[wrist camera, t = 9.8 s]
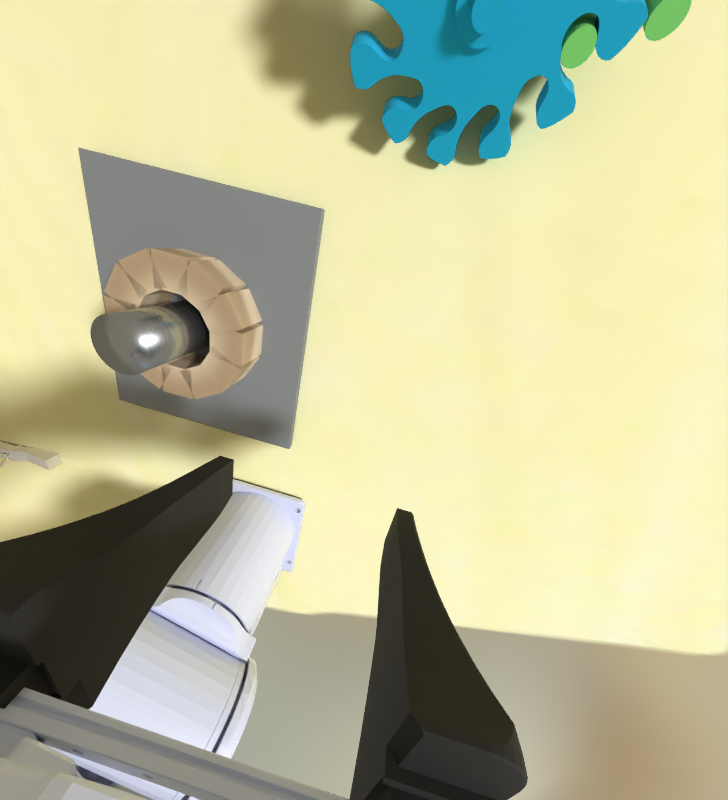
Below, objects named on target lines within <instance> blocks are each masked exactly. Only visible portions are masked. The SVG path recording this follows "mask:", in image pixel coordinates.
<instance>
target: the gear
mask: <svg viewBox="0 0 728 800" xmlns="http://www.w3.org/2000/svg"><path fill="white" fill-rule="evenodd" d="M371 1H373V2H376V3H377V4H379V5H380V6H382V7H383V8H384V9H385V10H386V11H387V12H388V13H389V14H390V15H391V16H392V17H393V19H394V20H395V21H396V23H397V24H398V25H399V27H400V28H401V30H402V33H403V38H404V39H403V41H402V43H401V44H400V46H399V47H397V48H395V49H388V48H386V47H384V46H383V45H382V43H381V42H380V41H379V40H378V39H377V38H376V36H375V35H374V34H372V33H371V32H369V31H360V32H358V33H357V34H355V35H354V38H353V42H352V46H351V53H350V62H351V71H352V76H353V80H354V85H355V87H357V88H359V89H368V88H370V87H371V86H373V85H374V84H375V83H376V82H377V81H379V80H381V79H382V78H385V77H388V76H392V75H402V76H408V77H412V78H415V79H417V80H418V81H420V83H421V84H422V87H423V91H422V92H421V93H420V94H419V95H418V96H417V97H415V98H407V97H402V96H394V97H392V98H391V99H389V100H388V101H387V103H386V104H385V107H384V111H383V116H382V121H383V125H384V127H385V129H386V131H387V133H388V135H389V136H390V138H391V139H392V140H393V141H394V143H400V142H402V141H403V140H405V139H406V137H407V136H408V134H409V132H410V130H411V129H412V127H413V126H414V124H415V123H416V122H417V121H418V120H419V119H420V118H421V117H422V116H424V115H425V114H426V113H428V112H430V111H432V110H434V109H436V108H439V107H441V106H444V105H449V106H452V107H453V108H454V109H455V110H456V114H455V116H454V117H453V118H452V119H451V120H449V121H447V122H445V123H442V124H440V125H438V126H436V127H435V128H434V129H433V130H432V131H431V132H430V134H429V137H428V143H427V152H426V154H427V155H428V156H429V157H430V158H431V159H433V160H434V161H436V162H438V163H440V164H443V165H447V164H449V163H450V162H451V161H452V159H453V158H454V155H455V151H456V145H457V142H458V139H459V137H460V134H461V132H462V131H463V129H464V127H465V126H466V124H467V123H468V122H469V121H470V120H471V118H472V117H473V116H474V115H475V114H476V113H477V112H478V111H479V110H480V109H481V108H482V107H484V106H487V105H494V106H496V107H497V108H498V109H499V110H498V112H497V114H496V115H495V116H494V117H493V118H492V120H491V121H490V122H489V123H488V124H487V125H486V126H485V127H484V128H483V130H482V131H481V134H480V138H479V156H480V157H481V158H485V159H493V158H500V157H505V156H506V154H507V153H508V151H509V149H510V146H511V129H510V124H509V119H510V115H511V111H512V109H513V106H514V104H515V101H516V99H517V97H518V95H519V93H520V90H521V89H522V87H523V85H524V84H525V83H526V82H527V81H528V80H529V79H531V78H532V77H535V76H540V75H541V76H544V77H546V78H547V80H546V82H545V85H544V86H543V88H542V90H541V92H540V94H539V96H538V99H537V102H536V118H537V124H538V126H539V127H540V128H541V129H543V128H547V127H549V126H551V125H554V124H555V123H557V122H559V121H560V120H562V119H564V118H565V117H567V116H568V115H569V114H571V113H572V112H573V111H574V108H575V103H576V101H575V93H574V86H573V83H572V81H571V80H570V79H569V78H568V77H566V75H565V74H564V72H563V71H562V68H561V65H560V59H561V63H562V65H563V66H564V67H566V68H575V67H577V66H579V65H581V64H582V63H583V62H584V61H586V60H587V58H588V57H589V56H590V55H591V53H592V52H593V50H594V48H595V46H596V51H597V54H598V56H599V57H600V58H601V59H603V60H610V59H612V58H613V57H614V56H615V55H617V54H618V53H619V52H620V51H621V50H622V49H623V48H624V47H625V46H626V45H627V43H628V42H629V41H630V40H631V39H632V38H633V36H634V35H635V34H636V33H637V31H638V30H639V29H640V28H641V26H642V25H643V28H644V32H645V35H646V37H647V39H649V40H651V41H656V40H660V39H662V38H664V37H666V36H667V35H669V34H670V33H672V32H673V31H674V30H675V29H676V28H677V27H678V26H679V25H680V24H681V22H682V21H683V20H684V18H685V17H686V15H687V13H688V11H689V9H690V5H691V0H371Z"/></svg>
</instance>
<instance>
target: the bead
mask: <svg viewBox="0 0 728 800" xmlns="http://www.w3.org/2000/svg"><path fill="white" fill-rule="evenodd" d="M118 261H119V263H116V264H115V266H114V268H113V271H112V273H111V276H110V278H109V280H108V283H107V285H106V288H105V290H104V292H105V293H106V294H108V295H105V296H104V301H105V307H106V314H109V313H114V312H120V311H126V310H132V309H138V308H143V307H149V306H155V305H161V304H167V303H170V301H171V299H172V298H173V296H174V294H175V293H176V294H180V295H182V296H183V297H184V298H185V299H187V300H188V301H189V302H190V303H191V304H192V305H193V306H195V307H196V308H197V309H198V310H199V311H200V313H201V315H202V317H203V319H204V321H205V323H206V325H207V327H208V329H209V331H210V352H209V353H208V355H207V356H203V355H200V354H196V353H193V352H192V353H190V354H187V355H185V356H182V357H180V358H177V359H175V360H172V361H170V362H168V363H165V364H163V365H160V366H158V367H155V368H153V369H150V370H148V371H145V372H143V373H140V374H141V375H143V376H144V377H145V378H146V379H148V380H149V381H150V382H151V383H153V384H154V385H155V386H156V387H158V388H159V389H160V388H162V387H163V391H165V392H169V393H172V394H176V395H179V396H183V397H186V398H189V399H193V398H195V399H199V398H203V397H207V396H211V395H215V394H219V393H222V392H223V391H225V390H227V389H228V388H229V387H231V386H232V385H234V384H235V383H237V382H238V381H240V380H241V379H242V378H244V377H245V376H246V375H247V373H248V372H249V371H250V370H251V368H252V367H253V366H254V364H255V363H256V362H257V361H258V359H259V358H260V357H259V355H261V349H262V335H263V325H262V324H258V322H260V321H262V318H261V316H260V314H259V311H258V309H257V306H256V304H255V302H254V299H253V297H252V295H251V292H250V290H249V289H243V288H244V287H245V285H246V284H245V283H244V282H243V281H242V280H241V279H240V278H239V277H238V276H236V275H235V274H234V273H233V272H232V271H231V270H230V269H229V268H228V267H227V266H226V265H225V264H224V263H222V262H221V261H220V260H215V257H212V256H209V255H205V254H201V253H197V252H193V251H190V250H186V249H169V248H145V249H143V250H141V251H139V252H136V253H134V254H132V255H130V256H127V257H125V258H123V259H121V260H118Z"/></svg>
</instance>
